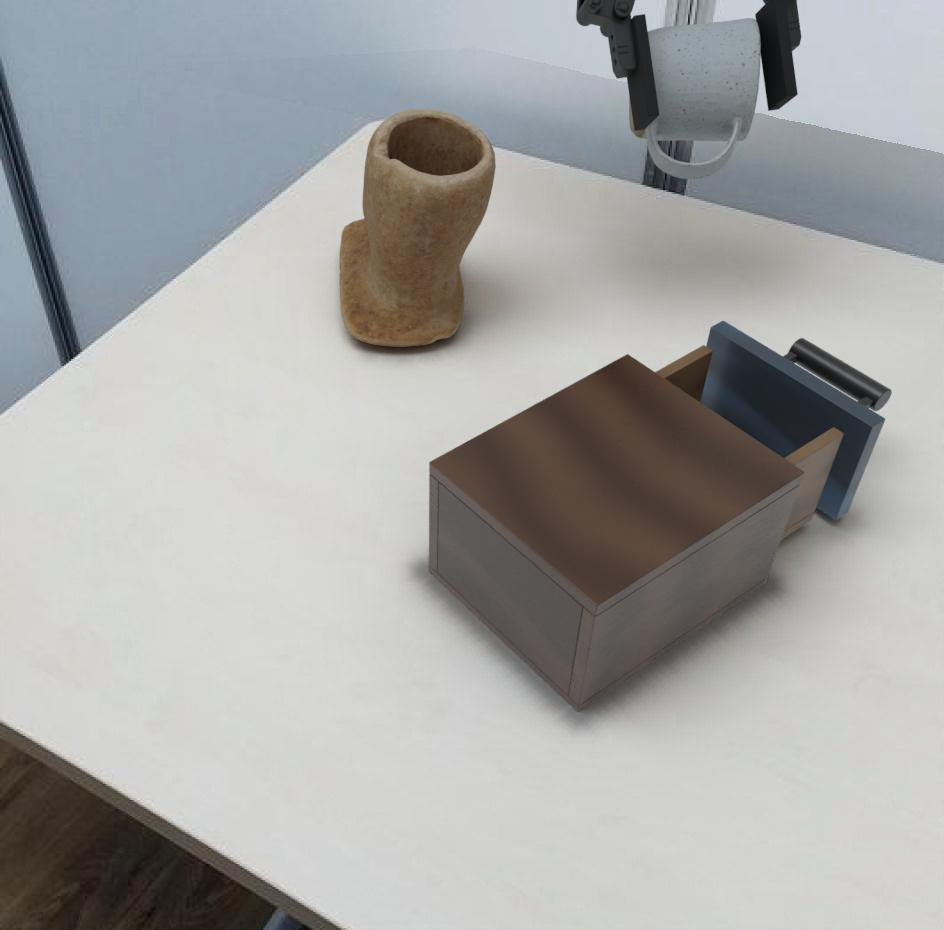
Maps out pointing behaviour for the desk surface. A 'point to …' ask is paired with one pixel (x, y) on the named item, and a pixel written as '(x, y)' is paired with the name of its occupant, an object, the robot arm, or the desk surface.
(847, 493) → the drawer
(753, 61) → the ceramic mug
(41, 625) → the desk surface
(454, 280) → the stone cup
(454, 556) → the cabinet
